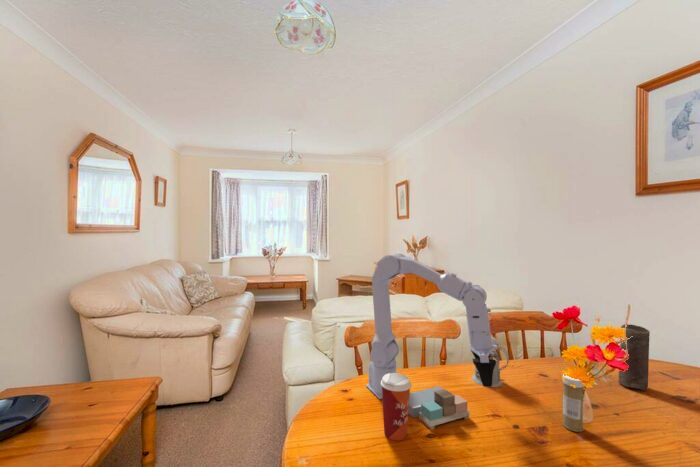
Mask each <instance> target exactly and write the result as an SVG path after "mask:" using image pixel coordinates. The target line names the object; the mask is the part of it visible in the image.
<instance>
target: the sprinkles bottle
mask: <svg viewBox="0 0 700 467" xmlns="http://www.w3.org/2000/svg"><path fill="white" fill-rule="evenodd" d="M564 374H565V373H563V375H562V384H563V392H562V414H563V416H562V417H563V418H562V426H563V427H564V428H565V429H567V430H568V431H571V432H575V433H581V432H583V431H584V423H583V422H584V387H585V386H584V385H585V384H584V385H583V384H582V381H581V380H579V379H574V378H571V377H569V376H567V375H566V376H564ZM564 378H565V379H566V381H568V382H566V381H565V379H564ZM570 384H572V385H575V386H576V388H573V386H570Z"/></svg>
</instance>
